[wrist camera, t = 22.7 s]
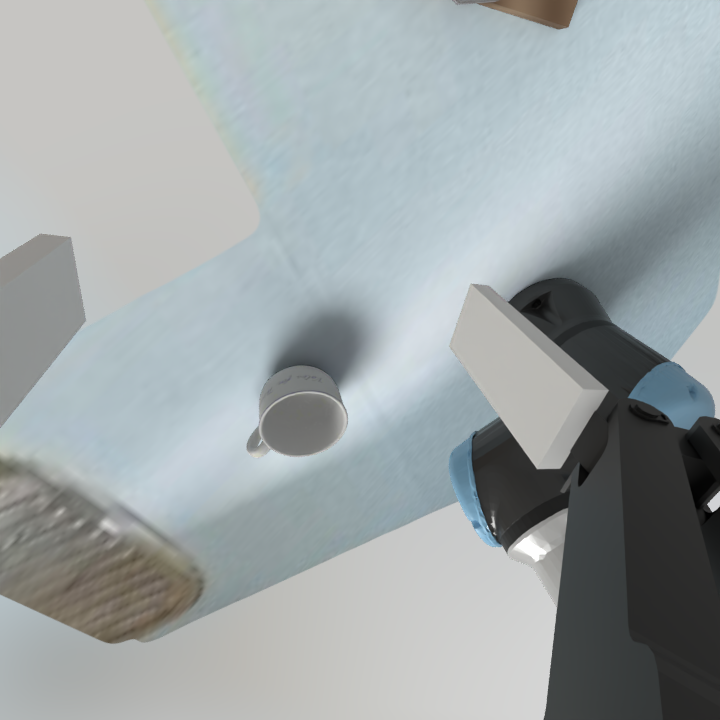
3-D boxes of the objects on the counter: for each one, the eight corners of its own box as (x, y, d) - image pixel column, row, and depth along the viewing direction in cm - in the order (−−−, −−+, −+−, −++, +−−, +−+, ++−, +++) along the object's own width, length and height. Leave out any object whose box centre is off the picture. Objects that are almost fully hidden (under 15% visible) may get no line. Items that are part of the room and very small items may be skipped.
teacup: (318, 341, 52) (326, 377, 45) (351, 399, 58) (361, 438, 51) (222, 386, 53) (215, 427, 46) (264, 438, 59) (263, 481, 52)
